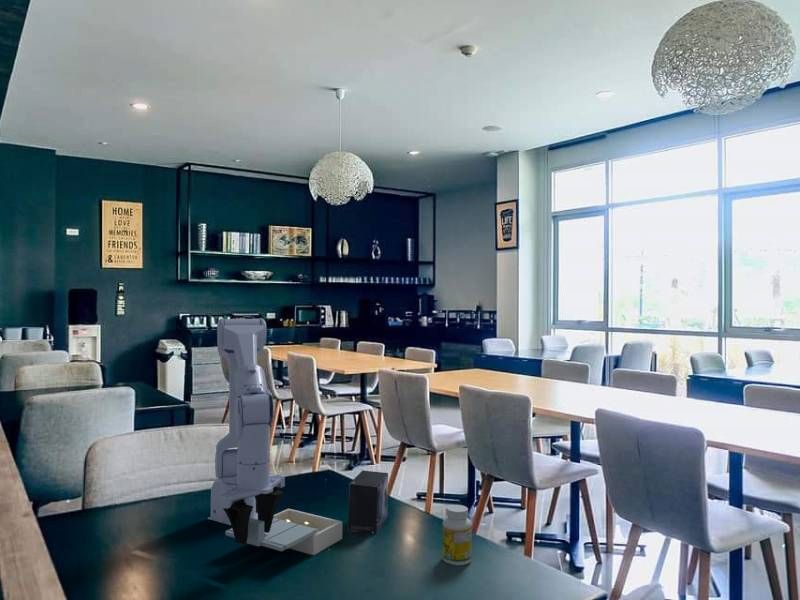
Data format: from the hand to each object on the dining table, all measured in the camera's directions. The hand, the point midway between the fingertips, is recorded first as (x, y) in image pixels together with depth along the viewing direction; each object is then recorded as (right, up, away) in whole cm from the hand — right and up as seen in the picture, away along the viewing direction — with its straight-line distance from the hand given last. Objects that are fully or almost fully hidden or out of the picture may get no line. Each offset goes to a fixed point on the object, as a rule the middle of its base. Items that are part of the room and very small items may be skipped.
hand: (253, 536), depth 106 cm
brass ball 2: (+7, -5, +12) cm, 15 cm away
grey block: (+7, -6, +11) cm, 14 cm away
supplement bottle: (+37, -6, +4) cm, 38 cm away
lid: (+2, -1, +4) cm, 5 cm away
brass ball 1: (+3, -5, +13) cm, 14 cm away
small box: (+20, -6, +20) cm, 28 cm away
